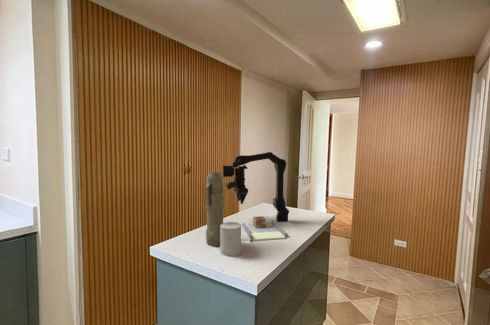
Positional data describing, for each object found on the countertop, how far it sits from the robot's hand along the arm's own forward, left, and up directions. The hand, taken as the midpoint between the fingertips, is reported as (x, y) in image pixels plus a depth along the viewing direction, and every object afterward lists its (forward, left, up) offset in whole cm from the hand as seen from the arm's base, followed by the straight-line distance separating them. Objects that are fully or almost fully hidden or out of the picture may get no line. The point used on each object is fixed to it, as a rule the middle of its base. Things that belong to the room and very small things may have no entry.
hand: (240, 202), depth 160 cm
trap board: (-10, +16, -14) cm, 24 cm away
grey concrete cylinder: (+11, +38, -14) cm, 43 cm away
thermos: (+17, +26, -14) cm, 35 cm away
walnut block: (-10, +9, -13) cm, 18 cm away
